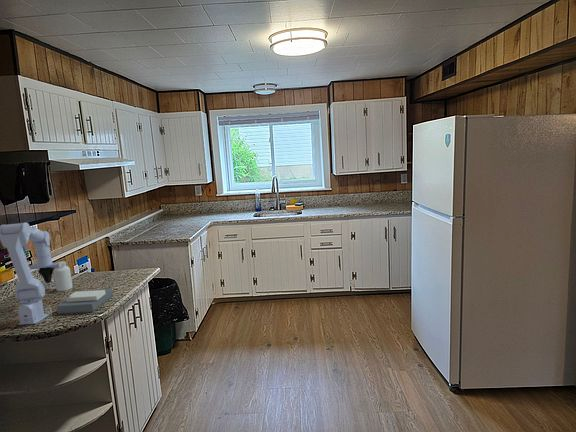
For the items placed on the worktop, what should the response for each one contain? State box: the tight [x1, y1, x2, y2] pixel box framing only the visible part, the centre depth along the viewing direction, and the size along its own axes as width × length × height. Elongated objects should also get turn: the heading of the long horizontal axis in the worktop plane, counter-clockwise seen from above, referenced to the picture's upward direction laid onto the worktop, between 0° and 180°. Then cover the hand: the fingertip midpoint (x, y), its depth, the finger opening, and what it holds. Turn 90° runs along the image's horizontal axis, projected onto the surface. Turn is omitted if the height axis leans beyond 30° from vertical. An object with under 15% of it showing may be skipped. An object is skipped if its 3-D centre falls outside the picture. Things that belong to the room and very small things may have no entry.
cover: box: [65, 290, 105, 302], centre depth 183 cm, size 8×14×2 cm, turn 88°
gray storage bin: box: [56, 288, 114, 315], centre depth 186 cm, size 20×16×4 cm
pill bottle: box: [52, 261, 73, 292], centre depth 211 cm, size 8×8×15 cm
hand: (48, 282), depth 191 cm, fingers closed
